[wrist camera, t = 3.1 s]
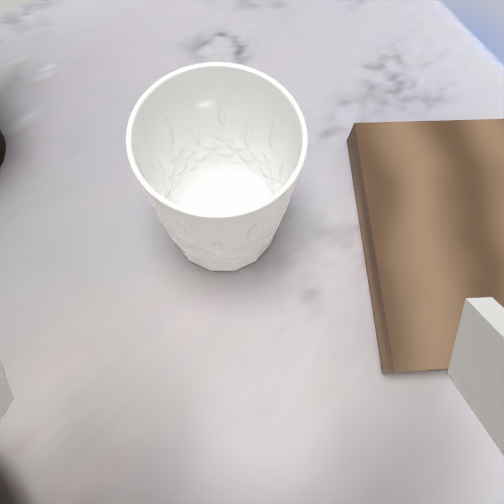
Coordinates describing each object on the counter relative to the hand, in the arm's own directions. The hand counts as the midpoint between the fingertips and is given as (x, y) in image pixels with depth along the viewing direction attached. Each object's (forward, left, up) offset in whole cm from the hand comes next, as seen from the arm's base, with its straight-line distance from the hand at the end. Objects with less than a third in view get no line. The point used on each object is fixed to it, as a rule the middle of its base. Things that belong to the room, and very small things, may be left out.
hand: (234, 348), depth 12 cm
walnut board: (+15, +7, -13) cm, 21 cm away
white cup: (0, +9, -14) cm, 17 cm away
